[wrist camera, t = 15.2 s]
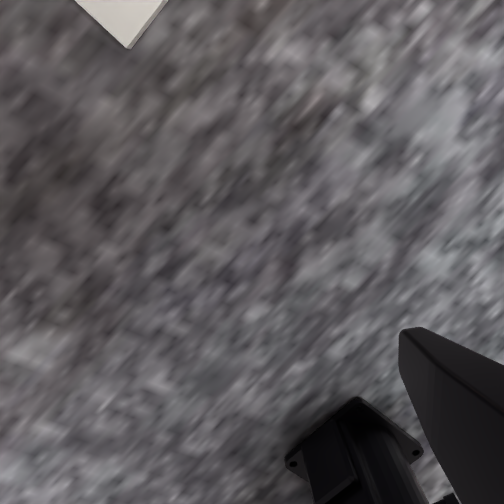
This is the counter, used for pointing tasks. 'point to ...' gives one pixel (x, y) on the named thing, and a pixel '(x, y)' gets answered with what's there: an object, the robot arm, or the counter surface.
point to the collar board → (124, 16)
